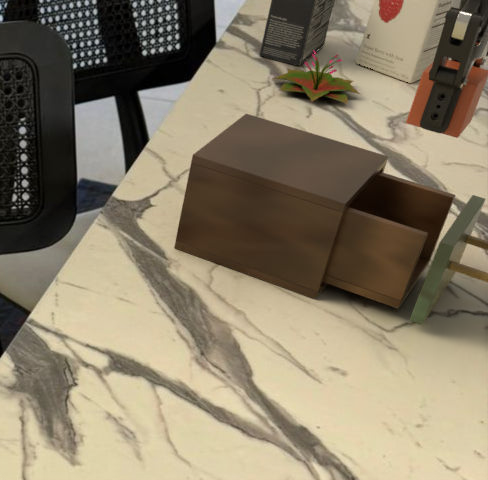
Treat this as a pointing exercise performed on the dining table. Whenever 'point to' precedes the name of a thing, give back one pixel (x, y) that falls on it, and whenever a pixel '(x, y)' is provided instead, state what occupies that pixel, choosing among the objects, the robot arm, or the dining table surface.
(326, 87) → the lily flower
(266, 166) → the cabinet
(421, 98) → the block
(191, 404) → the dining table surface
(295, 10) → the small box
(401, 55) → the rectangular carton
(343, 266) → the drawer
